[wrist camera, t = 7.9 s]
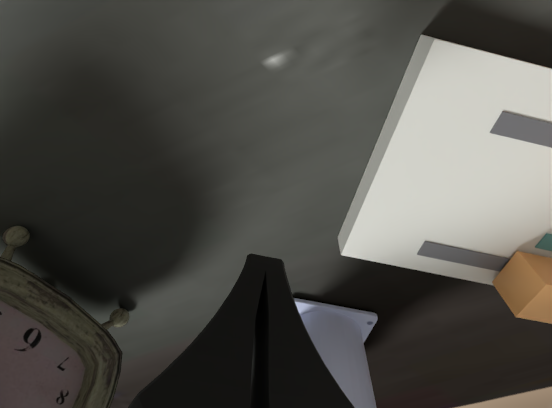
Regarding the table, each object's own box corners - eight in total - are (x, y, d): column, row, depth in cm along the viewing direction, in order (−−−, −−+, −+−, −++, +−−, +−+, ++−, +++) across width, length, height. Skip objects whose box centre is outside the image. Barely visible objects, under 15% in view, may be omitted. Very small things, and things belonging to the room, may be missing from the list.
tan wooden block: (542, 292, 24) (572, 327, 21) (491, 282, 24) (515, 316, 21) (571, 262, 22) (607, 296, 20) (517, 250, 22) (546, 284, 19)
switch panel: (577, 286, 26) (597, 307, 25) (337, 237, 25) (341, 256, 23) (748, 119, 19) (794, 132, 17) (420, 34, 17) (435, 38, 16)
